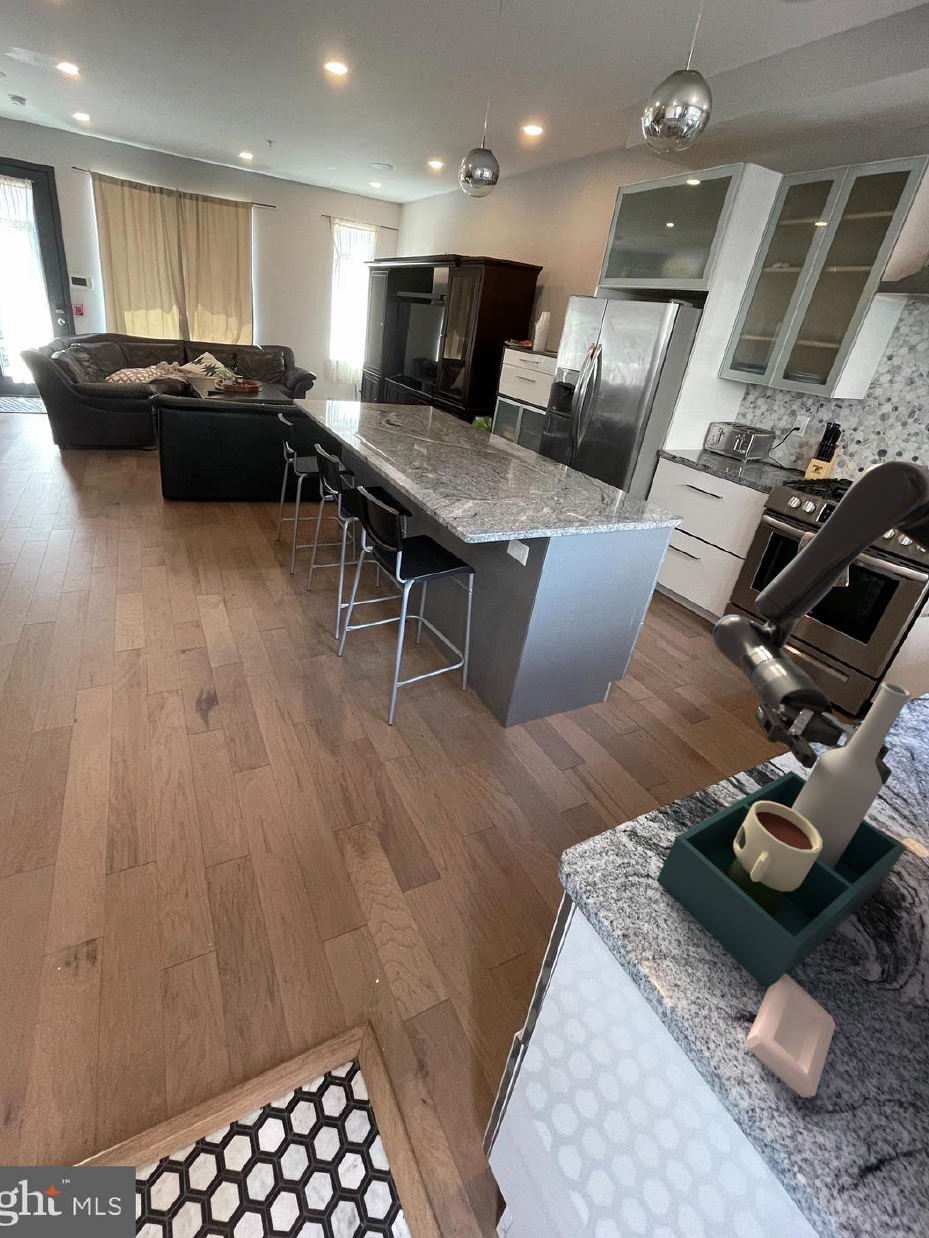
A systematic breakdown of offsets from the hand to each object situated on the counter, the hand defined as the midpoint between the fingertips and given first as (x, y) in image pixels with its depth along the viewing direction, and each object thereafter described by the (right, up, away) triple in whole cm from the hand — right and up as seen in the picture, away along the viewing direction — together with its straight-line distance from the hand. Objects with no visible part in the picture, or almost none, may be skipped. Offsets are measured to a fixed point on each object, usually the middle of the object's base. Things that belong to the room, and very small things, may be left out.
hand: (848, 770), depth 68 cm
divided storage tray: (-8, -15, +2) cm, 17 cm away
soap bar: (-17, -21, -13) cm, 30 cm away
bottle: (-2, -15, +6) cm, 16 cm away
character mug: (-14, -16, -1) cm, 21 cm away
